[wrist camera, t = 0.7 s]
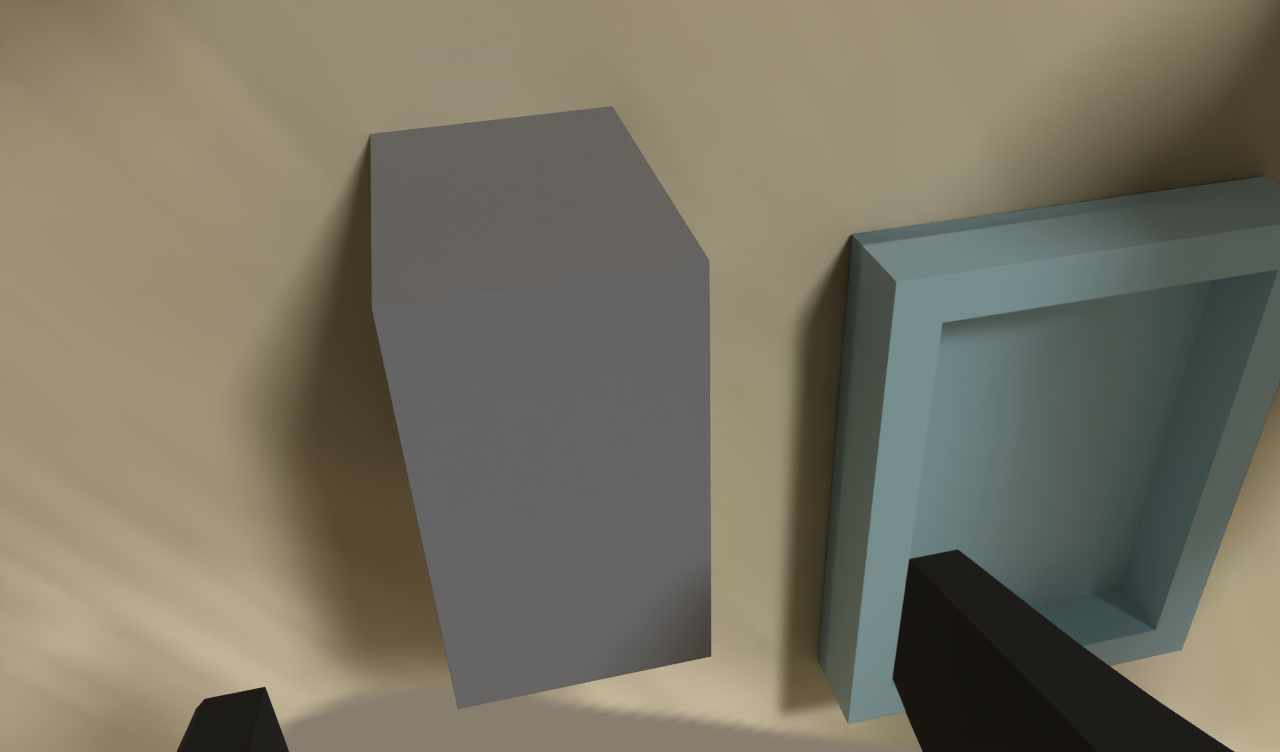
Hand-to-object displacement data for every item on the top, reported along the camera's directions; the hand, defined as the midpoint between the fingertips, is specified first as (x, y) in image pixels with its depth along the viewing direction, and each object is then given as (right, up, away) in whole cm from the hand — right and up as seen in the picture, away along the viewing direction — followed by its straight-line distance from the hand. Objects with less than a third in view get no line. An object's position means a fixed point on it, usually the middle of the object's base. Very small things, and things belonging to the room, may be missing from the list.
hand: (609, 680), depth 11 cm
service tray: (+9, +2, +12) cm, 15 cm away
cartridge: (-2, +5, +7) cm, 9 cm away
